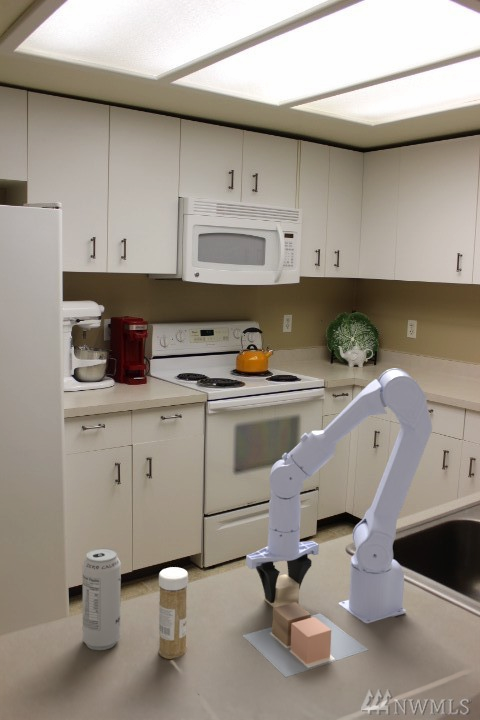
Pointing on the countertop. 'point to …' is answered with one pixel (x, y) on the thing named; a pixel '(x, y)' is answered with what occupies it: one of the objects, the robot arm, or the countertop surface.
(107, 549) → the energy drink can
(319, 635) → the terracotta block
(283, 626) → the walnut block
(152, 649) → the countertop surface
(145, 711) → the countertop surface
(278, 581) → the maple block
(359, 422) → the robot arm
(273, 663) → the build board
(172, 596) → the sprinkles bottle
